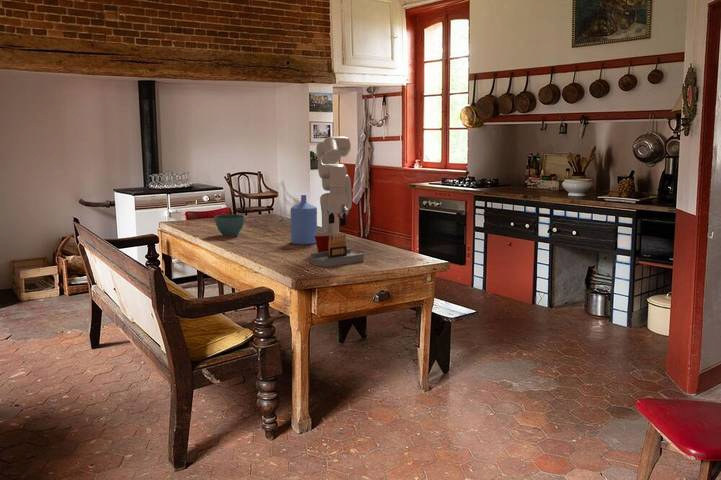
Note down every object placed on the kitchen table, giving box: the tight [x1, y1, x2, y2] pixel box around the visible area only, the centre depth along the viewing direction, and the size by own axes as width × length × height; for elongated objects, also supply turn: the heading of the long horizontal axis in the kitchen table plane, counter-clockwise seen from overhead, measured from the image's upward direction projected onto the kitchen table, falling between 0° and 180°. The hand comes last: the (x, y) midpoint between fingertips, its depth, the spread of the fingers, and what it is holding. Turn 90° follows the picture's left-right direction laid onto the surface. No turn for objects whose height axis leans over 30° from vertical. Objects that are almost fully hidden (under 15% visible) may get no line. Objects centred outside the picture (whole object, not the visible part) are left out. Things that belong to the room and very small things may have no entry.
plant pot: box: [214, 214, 245, 238], centre depth 411 cm, size 18×18×12 cm
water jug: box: [290, 194, 318, 245], centre depth 386 cm, size 16×16×28 cm
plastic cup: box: [314, 232, 334, 253], centre depth 348 cm, size 11×11×12 cm
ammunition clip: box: [328, 231, 348, 258], centre depth 330 cm, size 11×2×12 cm, turn 128°
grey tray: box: [310, 247, 365, 268], centre depth 331 cm, size 12×24×5 cm, turn 128°
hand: (337, 224), depth 328 cm, fingers open, 9 cm apart
